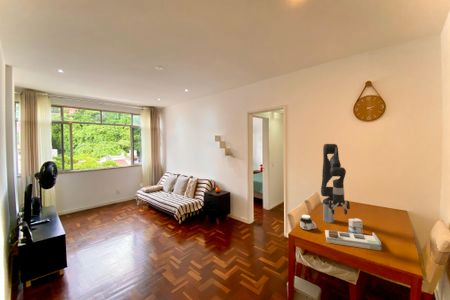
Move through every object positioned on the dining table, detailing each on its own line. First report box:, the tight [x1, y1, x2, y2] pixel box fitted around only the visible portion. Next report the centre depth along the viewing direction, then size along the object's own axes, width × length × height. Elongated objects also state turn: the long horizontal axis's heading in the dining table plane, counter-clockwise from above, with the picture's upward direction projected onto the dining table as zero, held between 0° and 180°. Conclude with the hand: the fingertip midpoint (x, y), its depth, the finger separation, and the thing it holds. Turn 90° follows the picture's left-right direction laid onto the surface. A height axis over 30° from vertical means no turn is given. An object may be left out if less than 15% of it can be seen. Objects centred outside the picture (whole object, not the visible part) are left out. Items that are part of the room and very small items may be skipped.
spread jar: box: [299, 214, 317, 231], centre depth 173 cm, size 12×11×12 cm
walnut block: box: [328, 229, 339, 238], centre depth 151 cm, size 6×6×4 cm
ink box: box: [348, 217, 363, 235], centre depth 160 cm, size 9×5×12 cm, turn 92°
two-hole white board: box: [324, 229, 382, 251], centre depth 150 cm, size 16×34×6 cm, turn 67°
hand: (339, 214), depth 149 cm, fingers open, 8 cm apart
